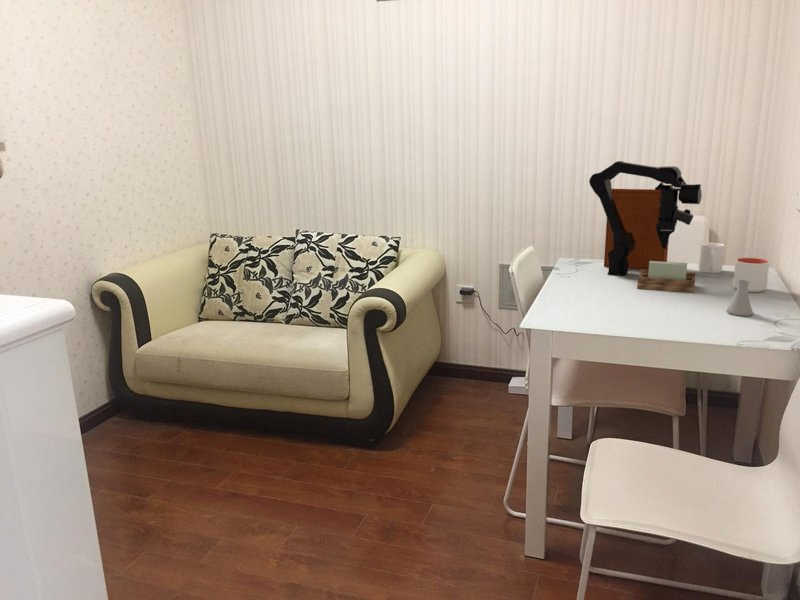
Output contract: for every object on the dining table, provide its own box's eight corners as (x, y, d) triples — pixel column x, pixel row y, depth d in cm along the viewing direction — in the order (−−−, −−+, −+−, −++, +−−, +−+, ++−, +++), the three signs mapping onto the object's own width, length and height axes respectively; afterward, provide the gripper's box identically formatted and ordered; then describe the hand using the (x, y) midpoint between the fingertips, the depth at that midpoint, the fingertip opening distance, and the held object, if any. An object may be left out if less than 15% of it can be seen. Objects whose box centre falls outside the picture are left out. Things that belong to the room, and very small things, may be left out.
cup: (768, 294, 220) (771, 264, 217) (734, 292, 223) (737, 263, 220) (762, 287, 229) (766, 258, 226) (730, 285, 232) (734, 257, 230)
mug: (723, 276, 245) (726, 248, 242) (698, 274, 248) (701, 247, 245) (721, 269, 256) (724, 243, 253) (697, 268, 259) (700, 242, 256)
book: (603, 266, 264) (608, 190, 257) (606, 262, 272) (610, 188, 264) (665, 270, 256) (672, 192, 248) (666, 266, 263) (673, 189, 255)
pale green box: (647, 282, 232) (649, 262, 230) (648, 280, 235) (650, 260, 233) (684, 285, 227) (686, 265, 225) (685, 282, 231) (687, 263, 229)
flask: (753, 311, 201) (757, 279, 198) (752, 318, 195) (756, 284, 192) (727, 308, 204) (730, 277, 202) (724, 314, 198) (728, 282, 196)
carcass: (637, 288, 230) (638, 275, 229) (640, 281, 240) (640, 269, 239) (693, 292, 223) (695, 279, 222) (694, 285, 233) (695, 272, 232)
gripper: (692, 206, 225) (688, 252, 229) (693, 200, 241) (689, 243, 245) (657, 205, 229) (653, 250, 233) (660, 199, 246) (657, 241, 250)
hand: (664, 246), depth 240 cm, fingers open, 9 cm apart
